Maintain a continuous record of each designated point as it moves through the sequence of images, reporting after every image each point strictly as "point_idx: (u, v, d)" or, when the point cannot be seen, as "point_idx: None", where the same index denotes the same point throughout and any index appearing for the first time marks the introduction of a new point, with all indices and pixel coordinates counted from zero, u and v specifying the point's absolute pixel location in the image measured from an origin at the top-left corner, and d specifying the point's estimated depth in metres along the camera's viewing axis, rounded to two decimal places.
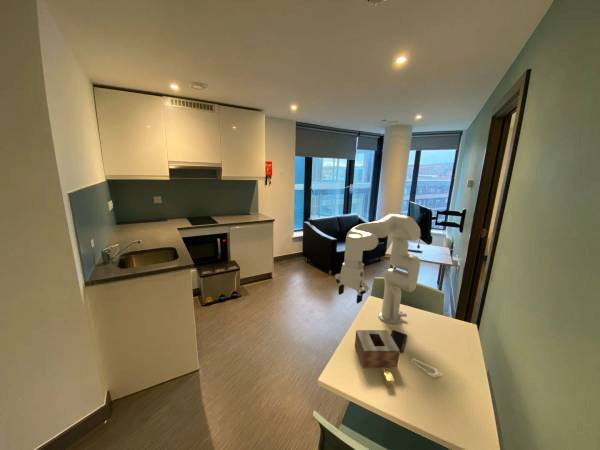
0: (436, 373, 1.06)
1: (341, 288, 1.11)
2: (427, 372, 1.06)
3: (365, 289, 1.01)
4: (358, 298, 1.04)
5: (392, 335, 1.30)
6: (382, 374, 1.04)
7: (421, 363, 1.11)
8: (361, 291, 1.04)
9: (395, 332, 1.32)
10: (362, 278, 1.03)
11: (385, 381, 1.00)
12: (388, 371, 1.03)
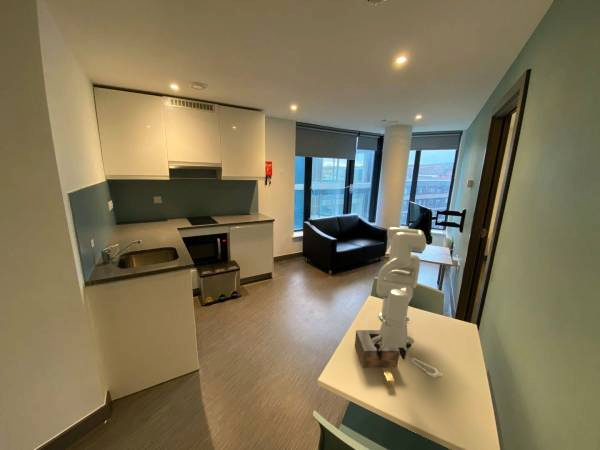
0: (436, 373, 1.06)
1: None
2: (427, 372, 1.06)
3: (411, 342, 0.97)
4: (404, 354, 0.98)
5: None
6: (382, 374, 1.04)
7: (421, 363, 1.12)
8: None
9: None
10: None
11: (385, 381, 1.00)
12: (388, 371, 1.03)
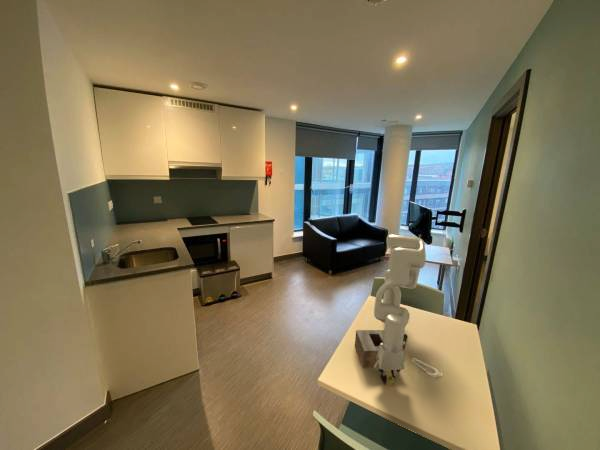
0: (436, 373, 1.06)
1: None
2: (427, 372, 1.06)
3: None
4: None
5: None
6: None
7: (421, 363, 1.12)
8: None
9: None
10: None
11: None
12: (389, 370, 1.03)
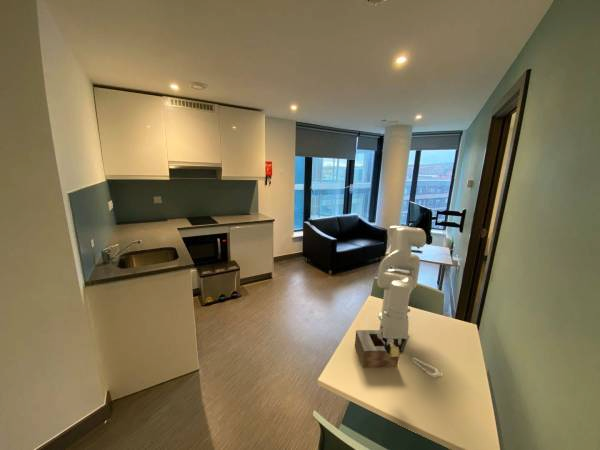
0: (436, 373, 1.06)
1: None
2: (427, 371, 1.06)
3: (406, 337, 0.97)
4: None
5: None
6: None
7: (422, 363, 1.12)
8: (397, 338, 0.99)
9: None
10: None
11: (389, 351, 0.97)
12: (391, 343, 1.00)
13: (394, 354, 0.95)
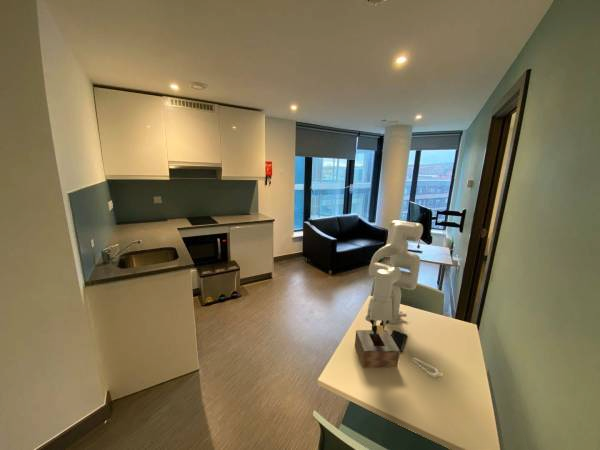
0: (436, 373, 1.06)
1: None
2: (427, 371, 1.07)
3: None
4: None
5: (392, 335, 1.30)
6: None
7: (422, 362, 1.12)
8: (382, 321, 1.12)
9: (395, 332, 1.32)
10: None
11: (376, 330, 1.10)
12: None
13: (380, 331, 1.09)
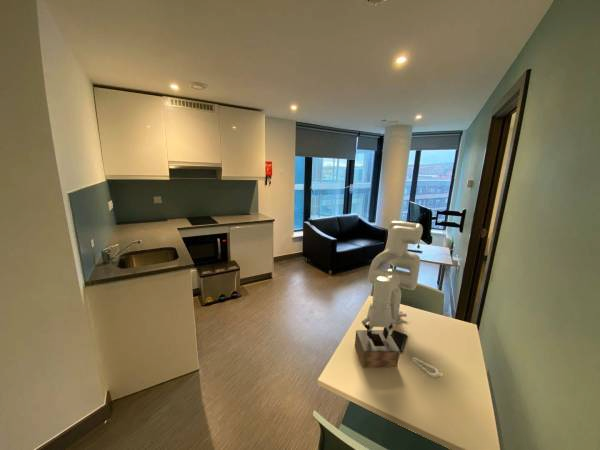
0: (436, 373, 1.06)
1: None
2: (427, 371, 1.07)
3: (393, 324, 1.11)
4: None
5: (392, 335, 1.30)
6: None
7: (422, 362, 1.12)
8: None
9: (395, 332, 1.32)
10: None
11: None
12: None
13: None
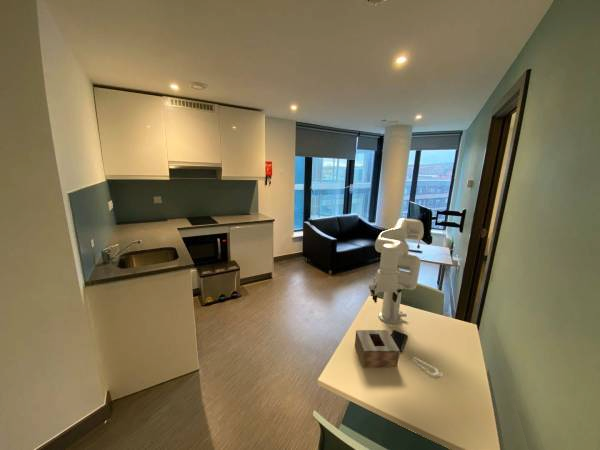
0: (436, 373, 1.06)
1: None
2: (427, 371, 1.07)
3: (401, 287, 1.16)
4: None
5: (392, 335, 1.30)
6: None
7: (422, 362, 1.12)
8: None
9: (395, 332, 1.32)
10: None
11: None
12: None
13: None
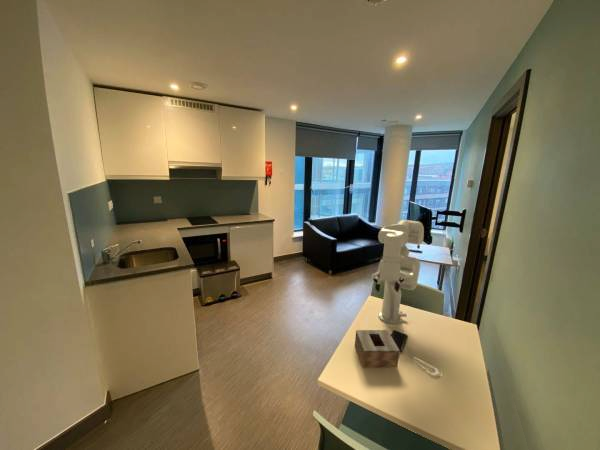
0: (436, 372, 1.06)
1: None
2: (427, 371, 1.07)
3: (404, 277, 1.19)
4: None
5: (392, 335, 1.30)
6: None
7: (422, 362, 1.12)
8: (397, 280, 1.21)
9: (396, 332, 1.32)
10: None
11: None
12: None
13: None
